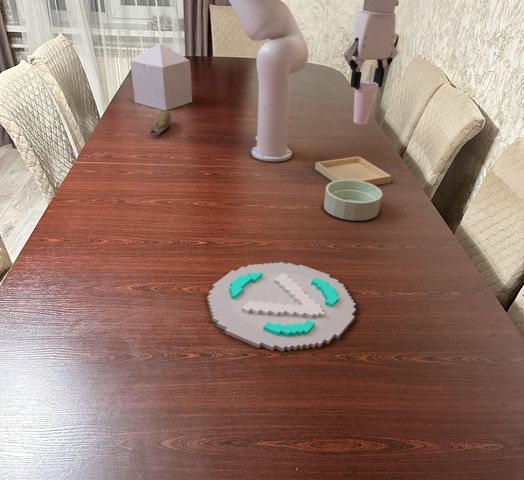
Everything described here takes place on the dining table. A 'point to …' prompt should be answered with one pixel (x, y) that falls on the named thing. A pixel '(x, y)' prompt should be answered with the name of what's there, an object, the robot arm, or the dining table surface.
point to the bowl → (352, 199)
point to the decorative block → (161, 78)
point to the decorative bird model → (161, 122)
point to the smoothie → (364, 100)
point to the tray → (352, 170)
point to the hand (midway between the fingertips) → (366, 86)
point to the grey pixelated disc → (281, 306)
